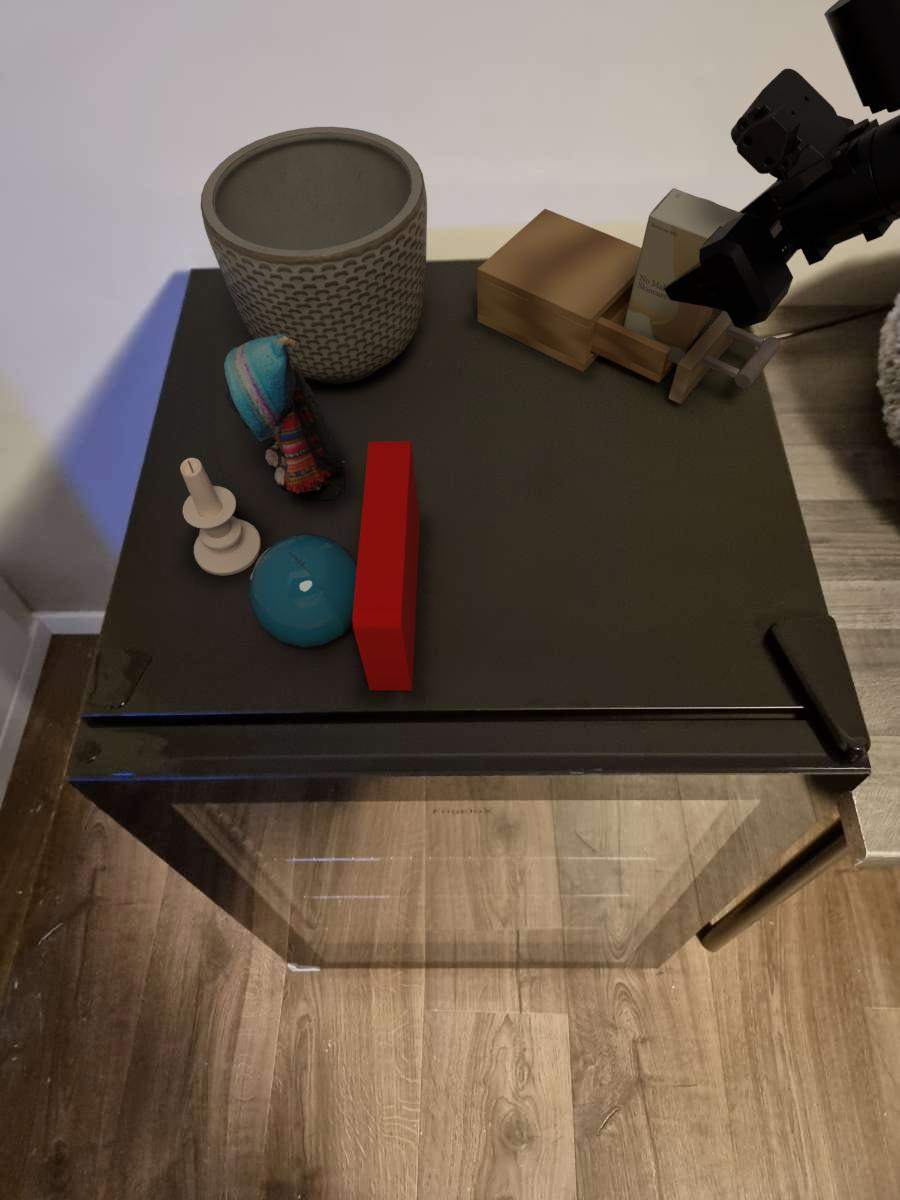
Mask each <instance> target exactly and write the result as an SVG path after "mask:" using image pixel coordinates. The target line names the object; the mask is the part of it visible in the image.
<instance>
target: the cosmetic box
mask: <svg viewBox="0 0 900 1200" xmlns="http://www.w3.org/2000/svg"><path fill="white" fill-rule="evenodd" d="M742 214H743V213H741V212H739V211H738V210H735V209H732V208H730V207H727V206H724V205H721V204H718V203H717V202H715V201H713V200H710V199H706V198H704V197H700V196H695V195H694V194H690V193H688V192H685V191H683V190H681V189H678V188H675V187H672V188H671V189H670V190H669V192H668V193H666V195H665V196H663V198H662V199H661V200H660V201H659V202H658V203H657V205H655V207H654V208H653V209H652V211H651V212H650V213H649V214H648V218H647V222H646V227H645V231H644V236H643V240H642V244H641V247H640V248H641V252H640V257H639V261H638V266H637V270H636V274H635V279H634V284H633V288H632V293H631V297H630V301H629V306H628V310H627V314H626V319H625V323H624V327H625V328H627V329H630V330H632V331H634V332H636V333H638V334H641V335H643V336H645V337H647V338H650V339H652V340H654V341H656V342H658V343H661V344H663V345H665V346H667V347H670V348H671V351H670V355H669V359H668V361H670V362H673V363H675V365H678V363H679V362H680V361H681V359H682V358H683V357H684V356H685V355H686V354H687V352H688V351H689V350H690V349H691V348H692V347H693V345H694V344H695V343H696V342H697V341H698V340H699V338H700V337H701V336H702V335H703V334H704V333H705V331H706V330H707V329H708V326H709V322H710V320H711V317H712V315H713V311H714V308H710V307H706V306H700V305H694V304H688V303H683V302H677V301H672V300H670V299H669V297H668V296H667V294H666V292H665V287H666V286H667V285H668V284H670V283H671V282H672V281H674V280H675V279H676V278H678V277H679V276H680V275H682V274H683V273H685V272H686V271H687V270H689V269H690V268H692V267H693V266H694V265H696V264H697V263H699V249H700V248H701V247H702V245H703V244H704V243H705V242H706V241H707V239H708V238H709V237H710V236H711V235H712V234H713V233H714V232H715V231H716V230H717V229H718V228H719V227H720V226H721V227H722V226H724V225H725V224H727V223H728V222H729V221H731V220H732V219H734V218H736V217H738V216H740V215H742Z"/></svg>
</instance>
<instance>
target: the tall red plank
mask: <svg viewBox="0 0 900 1200" xmlns="http://www.w3.org/2000/svg"><path fill="white" fill-rule="evenodd" d="M413 454H414V452H413V443H412V441H411V440H402V441H401V440H398V441H396V440H395V441H394V440H391V441H389V440H387V441H383V440H381V441H377V440H376V441H368V446H367V454H366V455H367V456H366V466H365V477H364V488H363V497H362V499H363V500H362V510H361V521H360V531H359V541H358V553H357V562H356V563H357V574H356V585H355V596H354V607H353V624H352V629H353V632H354V636H355V640H356V643H357V647H358V652H359V655H360V659H361V663H362V667H363V670H364V674H365V678H366V681H367V685H368V688H369V691H370V692H371V691H374V692H375V691H376V692H377V691H379V692H380V691H381V692H383V691H384V692H386V691H389V692H392V691H393V692H395V691H396V692H397V691H399V692H400V691H401V692H410V691H413V685H414V684H413V682H414V662H415V661H414V660H415V659H414V658H415V641H416V639H415V636H416V618H417V617H416V616H417V614H416V613H417V596H418V595H417V593H418V571H419V552H420V551H419V550H420V549H419V548H420V547H419V546H420V513H419V503H418V496H417V495H418V494H417V492H418V491H417V482H416V473H415V463H414V462H415V461H414V455H413Z"/></svg>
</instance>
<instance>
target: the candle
mask: <svg viewBox="0 0 900 1200" xmlns="http://www.w3.org/2000/svg"><path fill="white" fill-rule="evenodd" d="M179 469H180V473H181V475H182V478H183V480H184V483H185V485H186V488H187V490H188V492H189V494H190V495H188V497H187V498H186V500H185V501H184V503H183V506H182V515H183V518H184V520H185V521H186V523H187V524H189V525H190V526H192V527H194V528H197V529H199V532H198V533H199V534H198V535H197V538H196V540H195V542H194V545H193V555H194V559H195V561H196V563H197V564H198V565H199V567H200V568H201V570H203V571H205V572H206V573H208V574H211V575H214V576H220V577H221V576H222V577H226V576H232V575H233V576H234V575H236V574H239V573H241V572H243V571H245V570H247V569H248V568H249V567H251V566H252V565H253V564H254V563H255V562H256V560H258V558H259V557H260V553H261V550H262V539H261V536H260V533H259V531H258V530H257V528H256V526H254V525H253V524H251V523H250V522H248V521H245V520H243V519H240V518H237V517H235V516H234V515H233V514H235V511H236V507H237V501H236V497H235V495H234V494H233V493H232V491H230V490H229V489H227V488H226V487H222V486H221V485H213V484H212V482H211V480H210V477H209V476H208V473H207V472H206V471H205V468H204V467H203V464H202V462H201V461H200V460H199V459H198V458H196V457H188V458H186V459H184V460H183V461H182V462H181V464H180V467H179Z"/></svg>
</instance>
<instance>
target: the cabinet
mask: <svg viewBox="0 0 900 1200" xmlns="http://www.w3.org/2000/svg"><path fill="white" fill-rule="evenodd" d="M641 248H642V247H640V246H637V245H635V244H633V243H631V242H628V241H626V240H624V239H622V238H621V239H620V238H618V237H615V236H613V235H611V234H608V233H606V232H604V231H601V230H599V229H596V228H594V227H591V226H589V225H587V224H584V223H582V222H580V221H577V220H574V219H572V218H570V217H567V216H565V215H562V214H560V213H557V212H554V211H553V210H549V209H547V208H544V209H542V210H541V211H540V212H539V213H538V214H537V215H536V216H535V217H534V218H532V219H531V220H530V221H529V222H527V224H526V225H525V226H523V227H522V228H521V229H520V230H519V231H518V232H517V233H516V234H515V235H513V236H512V237H511V238H510V239H509V240H508V241H506V243H504V244H503V246H501V247H500V248H499V249H498V250H497V251H495V253H493V254H491V256H490V257H488V258H487V259H486V261H484V262H483V263H481V265H480V266H478V267H477V277H476V281H477V283H476V284H477V285H476V286H477V289H476V290H477V291H476V292H477V293H476V299H477V300H476V302H477V304H476V305H477V306H476V307H477V310H476V312H477V315H476V317H477V319H476V320H477V323H479V324H482V325H484V326H486V327H488V328H490V329H492V330H494V331H496V332H498V333H500V334H503V335H504V336H507V337H509V338H511V339H513V340H515V341H517V342H519V343H522V344H523V345H525V346H526V347H527V346H528V347H530V348H531V349H533V350H536V351H538V352H539V353H541V354H545V355H546V356H548V357H550V358H553V359H555V360H557V361H558V362H561V363H562V364H565V365H567V366H569V367H571V368H573V369H575V370H577V371H579V372H581V373H584V372H585V371H586V370H587V369H588V368H589V366H590V365H591V364H592V363H593V362H594V361H595V360H596V359H597V358H598V357H599V356H600V355H598V354H596V353H594V352H592V351H591V344H592V338H593V331H594V325H595V322H596V320H597V319H598V318H599V317H600V316H601V315H602V314H603V313H604V312H605V311H606V310H607V309H608V308H609V307H610V306H611V305H612V304H613V303H614V302H615V301H616V300H617V299H618V298H619V297H620V296H621V295H622V294H623V293H624V291H625V290H626V289H627V288H628V287H629V286H630V285H631V284H632V283H633V282H634V279H635V274H636V270H637V266H638V261H639V257H640V252H641Z"/></svg>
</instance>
